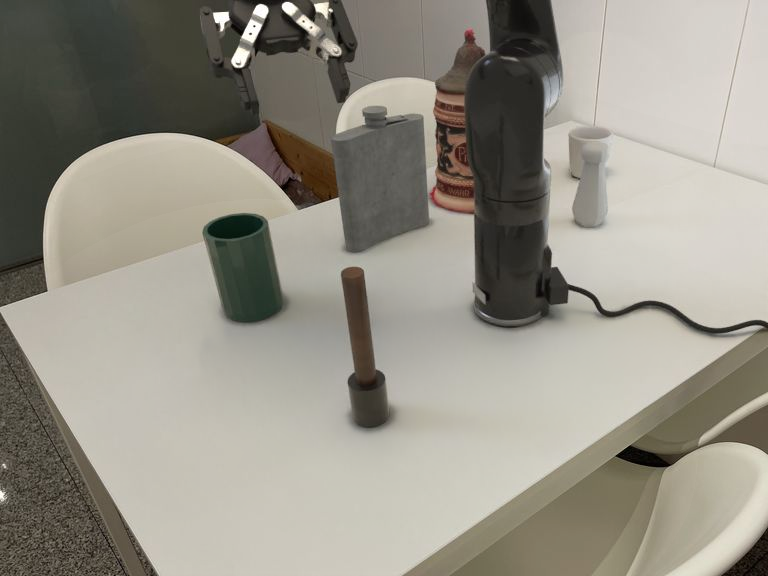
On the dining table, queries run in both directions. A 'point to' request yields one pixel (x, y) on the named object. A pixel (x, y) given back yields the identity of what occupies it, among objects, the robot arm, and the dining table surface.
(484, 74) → the robot arm
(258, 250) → the green cylindrical holder
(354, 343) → the bottle brush
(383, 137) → the hip flask
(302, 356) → the dining table surface
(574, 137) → the cup
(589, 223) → the salt shaker
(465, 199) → the beer stein
